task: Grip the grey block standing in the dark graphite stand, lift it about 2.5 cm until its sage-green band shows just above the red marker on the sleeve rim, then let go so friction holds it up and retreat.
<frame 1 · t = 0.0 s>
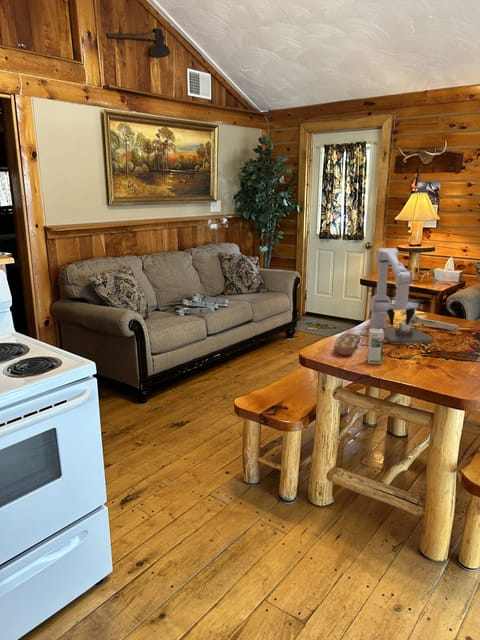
hand: (399, 324, 233), 10 cm above the table, tool pointing down, fingers open, 7 cm apart
wrench: (429, 328, 265), on the table
anatomical model: (346, 350, 229), on the table
syrup box: (374, 362, 213), on the table
grey block: (404, 328, 248), point 4 cm above the table, slide at 0.0 cm
stand: (403, 336, 249), on the table
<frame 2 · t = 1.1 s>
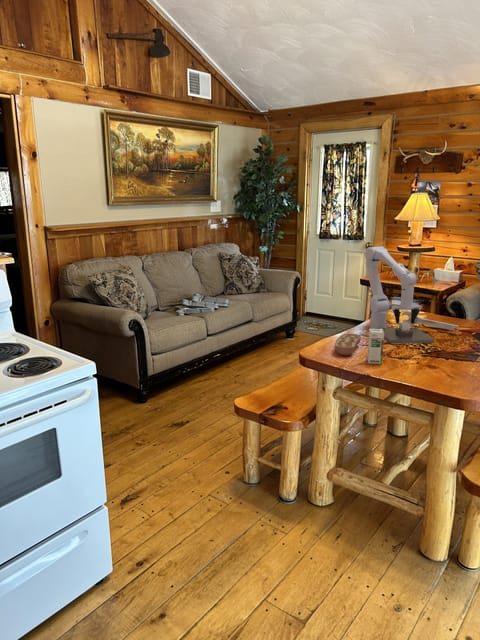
hand: (404, 323, 247), 7 cm above the table, tool pointing down, fingers open, 7 cm apart
nothing on the table moved.
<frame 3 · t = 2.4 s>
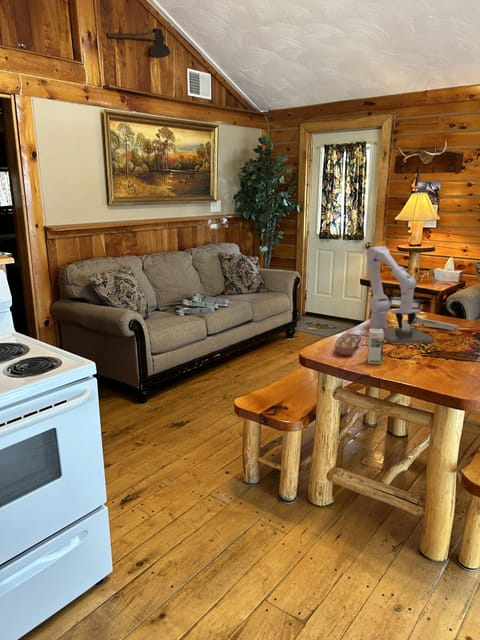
hand: (404, 327, 248), 5 cm above the table, tool pointing down, fingers closed on grey block, 4 cm apart
grey block: (404, 328, 248), point 4 cm above the table, slide at 0.0 cm, touching gripper
everything else where it was.
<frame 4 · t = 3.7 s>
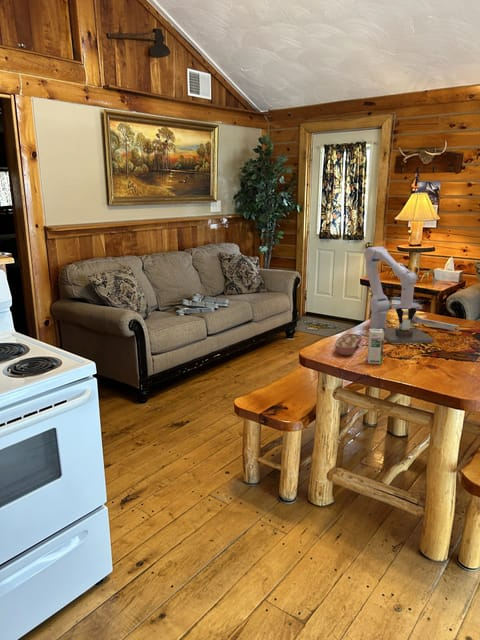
hand: (404, 322, 247), 7 cm above the table, tool pointing down, fingers closed on grey block, 4 cm apart
grey block: (404, 323, 247), point 7 cm above the table, slide at 2.3 cm, touching gripper
everything else where it was.
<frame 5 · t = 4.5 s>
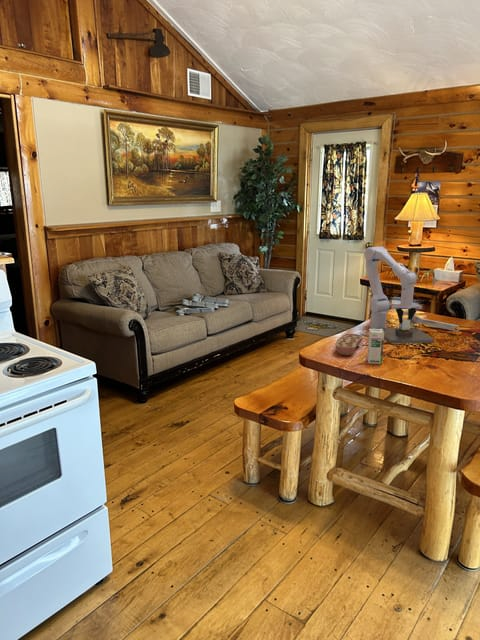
hand: (404, 322, 247), 7 cm above the table, tool pointing down, fingers closed on grey block, 4 cm apart
grey block: (404, 323, 247), point 7 cm above the table, slide at 2.3 cm, touching gripper
everything else where it was.
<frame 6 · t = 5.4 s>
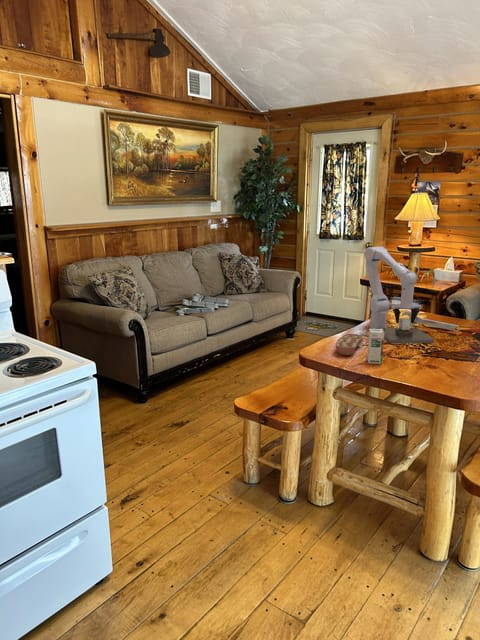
hand: (404, 322, 247), 7 cm above the table, tool pointing down, fingers open, 7 cm apart
grey block: (404, 323, 247), point 7 cm above the table, slide at 2.3 cm
everything else where it was.
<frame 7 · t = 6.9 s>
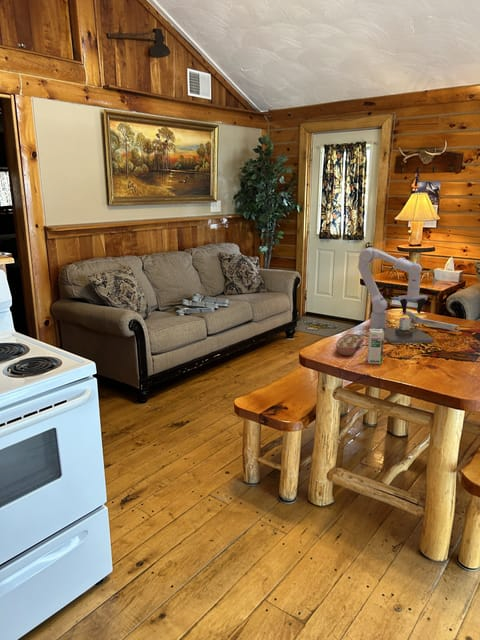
hand: (411, 313, 253), 10 cm above the table, tool pointing down, fingers open, 7 cm apart
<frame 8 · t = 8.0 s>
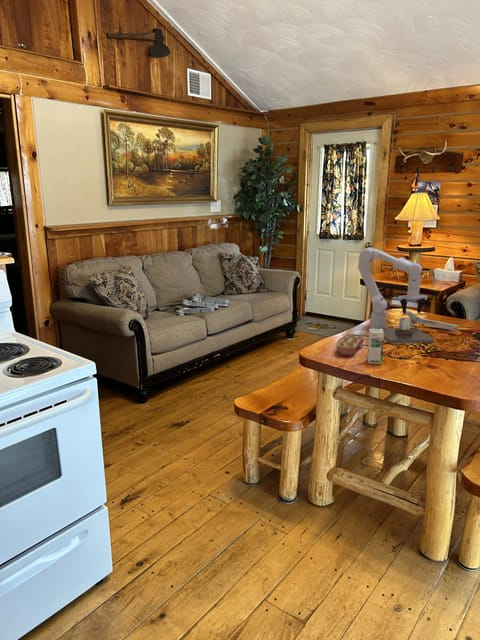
hand: (411, 313, 253), 10 cm above the table, tool pointing down, fingers open, 7 cm apart
at the end: grey block slide at 2.3 cm; the gripper is holding nothing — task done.
